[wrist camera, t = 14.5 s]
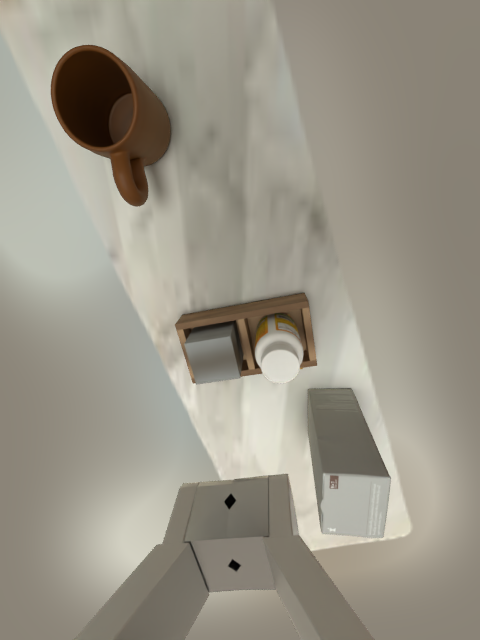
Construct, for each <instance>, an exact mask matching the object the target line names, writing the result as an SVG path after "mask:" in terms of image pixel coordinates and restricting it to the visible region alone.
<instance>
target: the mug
mask: <svg viewBox="0 0 480 640" xmlns="http://www.w3.org/2000/svg"><path fill="white" fill-rule="evenodd" d="M51 99H52V104H53V108H54V111H55V114H56V116H57V119H58V121H59V123H60V124H61V126H62V128H63V129H64V131H65V132H66V133H67V134H68V136H69V137H70V138H71V139H72V140H74V141H75V142H76V143H77V144H79V145H80V146H82V147H84V148H86V149H88V150H90V151H92V152H94V153H96V154H98V155H101V156H104V157H107V158H110V159H111V164H112V171H113V177H114V180H115V183H116V186H117V188H118V190H119V192H120V194H121V196H122V197H123V199H124V200H125V201H126V202H128V203H129V204H130V205H133V206H141V205H143V204H144V203H145V202H146V200H147V198H148V183H147V179H146V175H145V171H144V166H147V165H150V164H153V163H154V162H156V161H157V160H159V159H160V158H161V157H162V156H163V154H164V153H165V151H166V149H167V147H168V145H169V141H170V132H171V129H170V122H169V118H168V114H167V112H166V110H165V108H164V106H163V104H162V103H161V101H160V100H159V99H158V97H157V96H156V95H155V94H154V93H153V92H152V91H151V90H150V88H149V87H148V86H147V85H146V84H145V83H144V82H143V81H142V80H141V79H140V78H139V77H138V76H137V74H136V73H135V72H134V71H133V70H132V69H131V68H130V67H129V66H128V65H127V64H125V63H124V62H123V61H122V60H120V59H119V58H118V57H117V56H115V55H114V54H113V53H111V52H110V51H108V50H106V49H104V48H102V47H99V46H95V45H82V46H78V47H75V48H73V49H71V50H69V51H68V52H66V53H65V54H64V55H63V56H62V58H61V59H60V60H59V61H58V63H57V65H56V67H55V70H54V72H53V76H52V81H51Z"/></svg>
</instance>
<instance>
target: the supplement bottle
mask: <svg viewBox="0 0 480 640" xmlns="http://www.w3.org/2000/svg"><path fill="white" fill-rule="evenodd" d="M255 358H256V361H257V363H258V365H259V367H260V368H261V371H262V373H263V375H264V376H265V378H267V379H268V380H269V381H271V382H274V383H280V384H282V383H287V382H289V381H291V380H293V379H294V378H295V377H296V376H297V375H298V373H299V370H300V365H301V363H302V360H303V347H302V343H301V340H300V337H299V333H298V330H297V326H296V324H295V322H294V321H293V319H292V318H291V317H289V316H288V315H286V314H283V313H274V314H268V315H266V316H264V317H263V318H262V319H261V320H260V322H259V323H258V325H257V329H256V341H255Z"/></svg>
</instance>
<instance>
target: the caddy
mask: <svg viewBox="0 0 480 640" xmlns="http://www.w3.org/2000/svg"><path fill="white" fill-rule="evenodd" d="M274 313H283V314H286V315H288V316H289V317H291V318H292V319H293V321H294V322H295V324H296V326H297V330H298V333H299V337H300V340H301V343H302V347H303V360H302V363H301V365H300V369H303V367H310V366H317V361H316V353H315V346H314V339H313V332H312V325H311V318H310V310H309V303H308V300H307V298H306V295H305V293H301V294H295V295H290V296H284V297H279V298H273V299H268V300H262V301H256V302H251V303H245V304H240V305H234V306H229V307H223V308H218V309H212V310H207V311H201V312H195V313H190V314H184V315H182V316H181V317H180V319H179V320H178V321H177V323H176V324H175V326H176V329H177V333H178V336H179V339H180V343H181V346H182V349H183V352H184V356H185V359H186V362H187V366H188V369H189V372H190V375H191V379H192V382H193V383H196V384H203V383H210V382H216V381H223V380H230V379H237V378H240V377H241V376H248V375H255V374H262V371H261V368H260V367H259V365H258V363H257V361H256V358H255V341H256V329H257V325H258V323H259V322H260V320H261V319H262V318H263V317H264V316H266V315H268V314H274Z"/></svg>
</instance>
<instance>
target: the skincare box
mask: <svg viewBox="0 0 480 640" xmlns="http://www.w3.org/2000/svg"><path fill="white" fill-rule="evenodd" d="M308 436H309V443H310V451H311V458H312V466H313V474H314V481H315V489H316V497H317V505H318V512H319V520H320V527H321V532H322V534H332V535H345V536H356V537H367V538H383V537H384V530H385V523H386V516H387V509H388V500H389V492H390V482H391V477H390V476H389V474H388V471H387V469H386V467H385V464H384V462H383V460H382V458H381V455H380V453H379V451H378V448H377V446H376V444H375V441H374V439H373V437H372V435H371V432H370V430H369V427H368V425H367V423H366V421H365V418H364V416H363V414H362V411H361V409H360V407H359V404H358V402H357V400H356V397H355V395H354V393H353V390H352V389H308Z"/></svg>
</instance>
